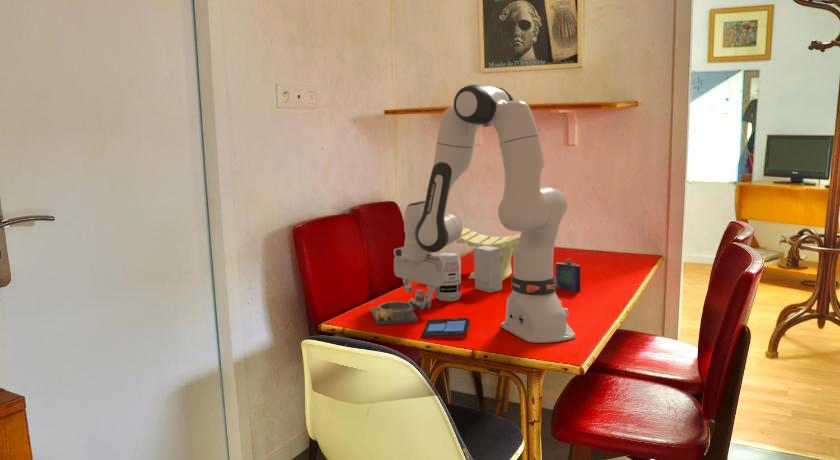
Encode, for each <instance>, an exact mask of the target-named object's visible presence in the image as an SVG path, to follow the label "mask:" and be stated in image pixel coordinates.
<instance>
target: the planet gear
mask: <svg viewBox="0 0 840 460" xmlns="http://www.w3.org/2000/svg"><path fill="white" fill-rule="evenodd" d="M414 297H415V298H410V299H409V300H408V303H411V305H412V306H413V310H417V309H418V310H425V309H430V308H431V306H432V300H431V299H432V298H431V299H428V298H426V296H425V290H424V289H416V290H415V291H414Z"/></svg>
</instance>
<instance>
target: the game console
mask: <svg viewBox="0 0 840 460" xmlns="http://www.w3.org/2000/svg"><path fill="white" fill-rule="evenodd" d="M470 326H471V319H470V318H467V317H454V318H435V319H433V318H432V319H428V320H427V321H426V323H425V326H424V328H423V331H422V333H421V334H420V339H426V340H427V339H430V340H431V339H432V340H435V339H436V340H464V339H467V337H468V332H469V328H470Z"/></svg>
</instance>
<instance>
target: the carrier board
mask: <svg viewBox="0 0 840 460" xmlns="http://www.w3.org/2000/svg"><path fill="white" fill-rule="evenodd" d="M369 310H370V314H371V315H372V317H373V320H374V321H375V323H376V325H377V326H385V324H386V325H395V324H396V323H397V324H407V323H417V322H419V318H418V316H417V314H415V312H414V309H413V306H412V305H411V303H409V302H406V301H399V300H398V301H397V300H396V301H388V302H384V303H381V304H378V305H377V306H376V307H370V308H369Z"/></svg>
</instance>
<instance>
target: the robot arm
mask: <svg viewBox="0 0 840 460" xmlns="http://www.w3.org/2000/svg"><path fill="white" fill-rule="evenodd" d="M482 126H483V127H489V126H493V127H494V129H495V131H496V134H497V138H498V142H499V143H498V144H499V148H500V153H501V158H502V163H503V169H504V189H503V196H502V199H501V201H500V203H499V205H498V208H497V216H498V220H499V222H500V224H501V225H502V226H503V227H504V228H505V229H507V230H509V231H512V232H521V233H520V234H521V235H520V238H519V241H518V242H517V244H516V245H515V248H514V251H513V254H512V256H513V257H512V260H513V270H512V273H513V275H511V276H512V277H511V281H510V282H511V289H512V291H511V293H510V294H509V295H508V297H506V298H507V299H506V305H505V306H506V307H505V320H504V321H502V322H501V324H500V327H501V328H502V329H504V330H506V331H507V332H510V333H511V334H513V335H515V336H517V337H518V338H520V339H522V340H524V341H526V342H529V343H555V342H562V341H567V340H569V341H570V340H572V339H574V338H576V333H575V332H574V330H573V329H572V328H571V327H570V325H569V324H568V323H567V317H569V309H568V308H567V307H563V305H562V304H563V302H562V300H560V298H559V297H558V295H557V293H556V291H557V288H556V287H555V285H556V284H555V276H554V250H555V245H556V240H557V237H558V232H559V229H560V225H561V222H562V219H563V217H564V216H565V214H566V213H567V210H568V201H567V198H566V196H565V194H564V193H563V192H562V191H561V190H559V189H558V188H557V189H556V188H553V187H550V186H549V187H548V186H542V187H541V177H542V176H541V175H542V171H543V168H544V167H545V158H544V154H543V149H542V143H541V139H540V135H539V130H538V127H537V126H538V125H537V123H536V121H535V117H534V115H533V112H532V110H531V107H530V105H529V104H528V103H527V102H525V101H523V100H514V97H513V96H512V94H511V93H510V92H509V91H507V90H506V89H504V88H502V87H495V86H492V85H489V84H469V85H466V86H464V87H462V88H460V89H459V90H458V91H457V93H456V94H455V96H454V99H453V106H450V107H448V108H447V109H445V110H444V112H443V113H442V117H441V119H440V124H439V126H438V132H437V138H436V144H435V145H436V146H435V153H434V157H433V165H432V169H431V173H430V178H429V182H428V186H427V191H426V196H425V200H420V201H416V202H411V203H409V204H408V205H406V207H405V209H404V210H405V211H404V218H403V219H404V220H403V221H404V222H403V224H404V225H403V229H404V235H405V238H404V243H403V244H404V245H403V246H402V247H397V248H394V249H393V255H394V258H393V272H394V275H395V277H397V278H401V279H402V283H403V285H404V287H405V292H406V293H408V294H410V293H413V292H414V291H413V290H414V289H413V286H412V285H411V281H412V282H415V283H418V284H422V285H426V286H427V289H428V290H427V292H425V298H427V299H433V297H434V292H435V291H436V287H439V286H442V285H443V284H444V282H445V280H444V270H443V265H442V261H441V260H440V259H439V257H436V256H437V255H436V256H434V255H433V253H439V252H440V251H441V250H442V249H444V248H445V247H447V246H449V245H451V244H452V243H454V242H455V241H456V242H457V239H458V238H459V237H460V236H461V234H462V226H463V223H462V221H461V219H460V218H459V217H458V215H456V214H454V213H452V212H447V207H448V202H449V197H450V191H451V190H452V187H453V186H454V184H455V183H456V181H457V180H458V179H459V178H460V177H461V176H462V175H463V174H464V173H465V172H466V171H467V170H468V169H469V167H470V164H471V162H472V159H473V154H474V146H475V137H476V134H477V131H478V130H479V128H480V127H482Z"/></svg>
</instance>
